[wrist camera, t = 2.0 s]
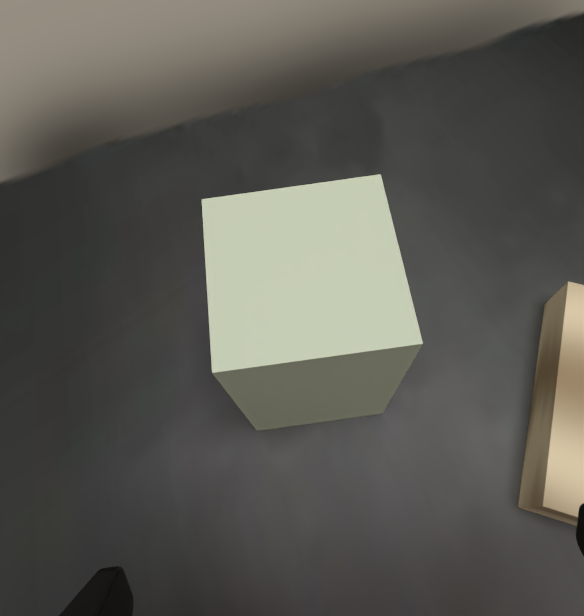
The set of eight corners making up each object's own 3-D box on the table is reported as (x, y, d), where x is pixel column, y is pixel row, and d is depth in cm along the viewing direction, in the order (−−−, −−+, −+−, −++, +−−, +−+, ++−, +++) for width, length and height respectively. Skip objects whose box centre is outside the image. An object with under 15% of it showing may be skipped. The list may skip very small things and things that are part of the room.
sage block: (382, 413, 23) (422, 343, 14) (256, 431, 23) (212, 372, 14) (359, 299, 25) (380, 174, 16) (246, 315, 25) (201, 199, 16)
